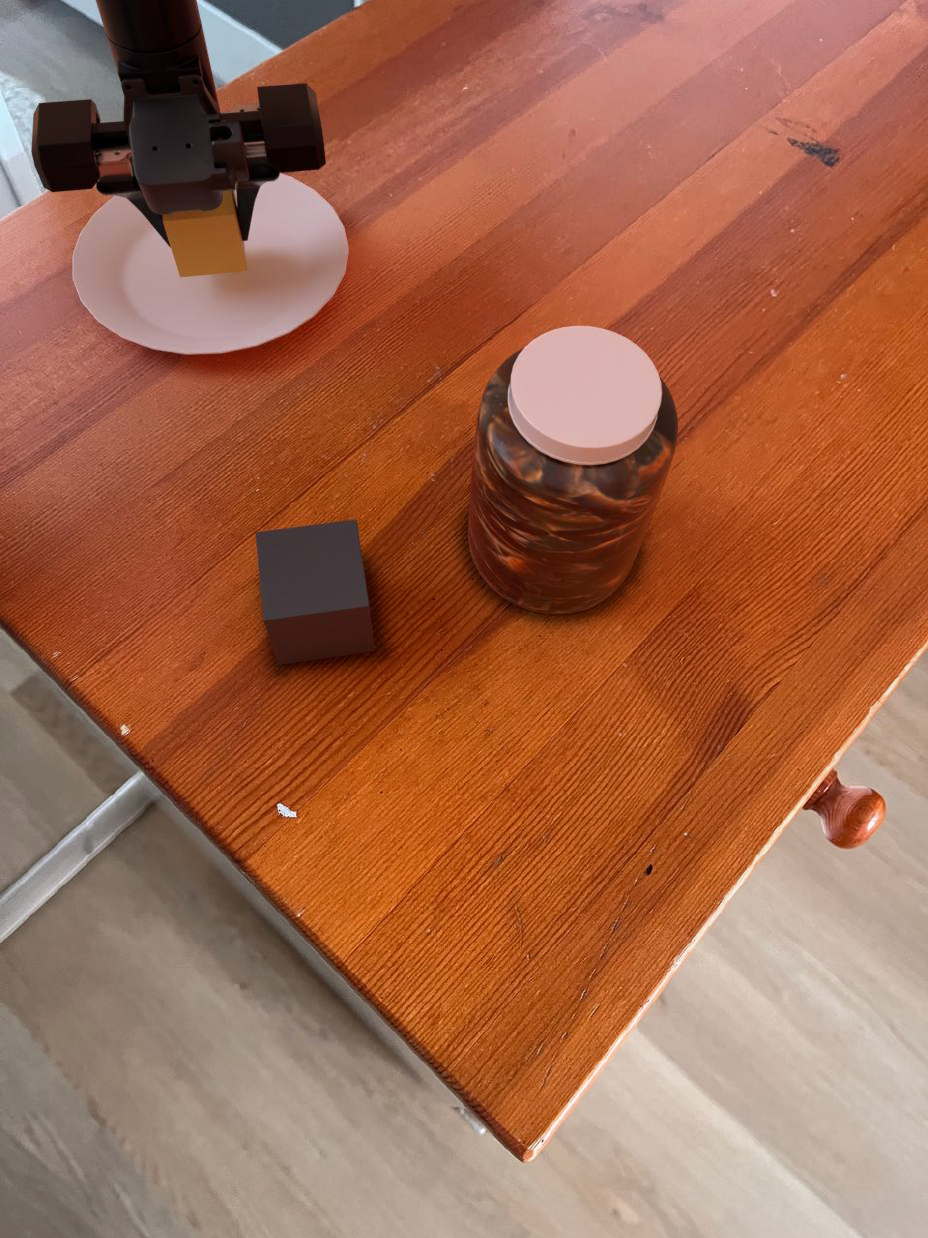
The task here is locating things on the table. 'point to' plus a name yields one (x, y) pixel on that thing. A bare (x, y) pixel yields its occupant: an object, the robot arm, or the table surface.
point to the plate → (213, 275)
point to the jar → (568, 468)
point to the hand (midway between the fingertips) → (208, 240)
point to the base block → (314, 591)
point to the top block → (207, 239)
